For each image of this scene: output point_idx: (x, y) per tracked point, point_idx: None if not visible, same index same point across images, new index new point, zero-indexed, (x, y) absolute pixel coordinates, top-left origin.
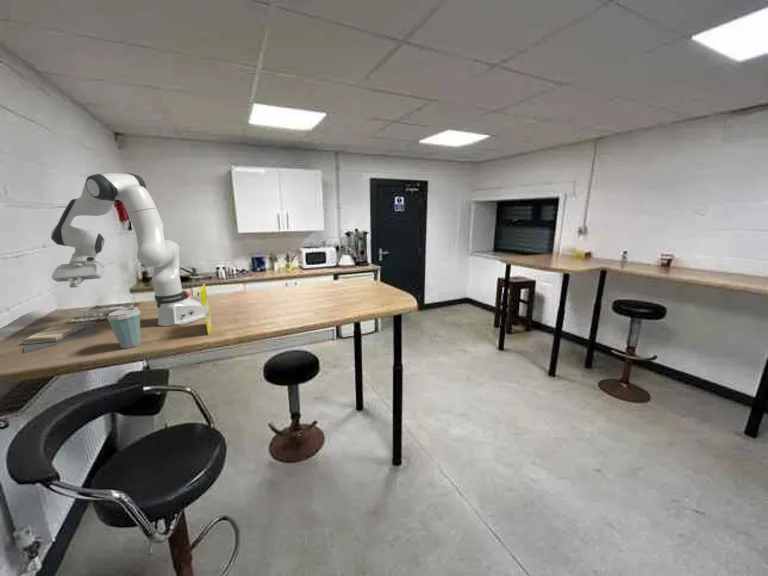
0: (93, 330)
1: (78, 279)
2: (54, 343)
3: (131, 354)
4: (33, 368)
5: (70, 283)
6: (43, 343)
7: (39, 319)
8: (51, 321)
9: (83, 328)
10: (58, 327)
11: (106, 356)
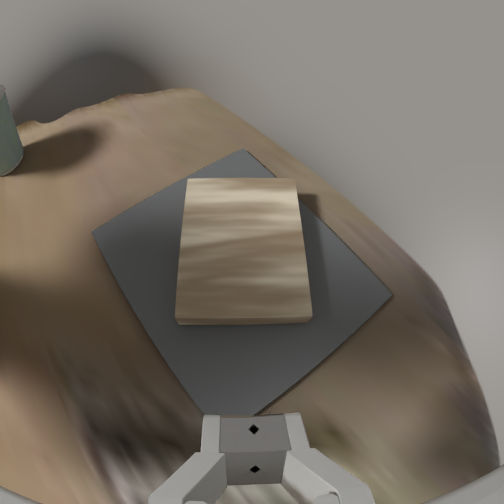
0: (118, 278)
1: (179, 495)
2: None
3: None
4: (153, 94)
5: (298, 442)
6: None
7: None
8: (439, 459)
9: None
10: (262, 283)
11: (45, 125)
